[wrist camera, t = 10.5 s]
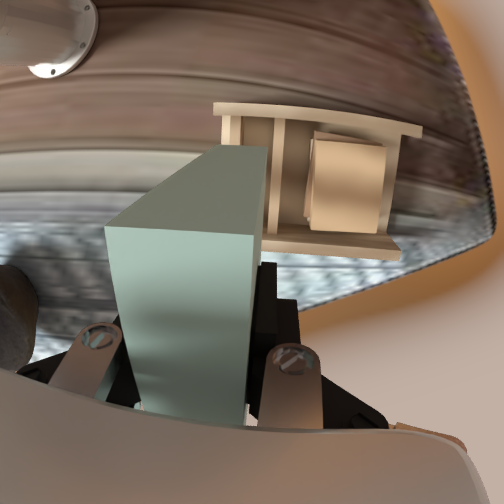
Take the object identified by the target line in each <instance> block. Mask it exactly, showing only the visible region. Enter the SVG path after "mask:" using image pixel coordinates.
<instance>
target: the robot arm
mask: <svg viewBox="0 0 504 504" xmlns="http://www.w3.org/2000/svg"><path fill="white" fill-rule="evenodd" d="M97 29H98V12H97V9H96V6H95V4H94V3H93V2H92V1H91V0H0V65H5V66H28V68H29V69H30V71H31V72H32V73H33V74H34V75H36V76H38V77H41V78H57V77H60V76H63V75H65V74H67V73H68V72H70V71H72V70H73V69H74V68H75V67H76V66H77V65H79V63H80V62H81V61H82V60H83V59H84V58H85V56H86V55H87V53H88V52H89V50H90V48H91V46H92V44H93V42H94V40H95V37H96V34H97ZM320 368H321V367H320V360H319V357H318V355H317V354H316V353H315V352H314V351H313V350H312V349H310V348H309V347H306V346H304V345H301V341H300V330H299V320H298V308H297V300H294V299H279V298H277V263H274V262H261V266H260V265H258V267H257V276H256V285H255V295H254V304H253V313H252V322H251V332H250V346H249V362H248V378H247V394H246V404H250V407H249V414H251V415H252V416H254V417H255V418H256V419H257V420H258V424H257V426H246V425H235V424H225V423H217V422H209V421H202V420H194V419H188V418H181V417H175V416H169V415H164V414H158V413H153V412H148V411H143V410H140V408H141V402H140V401H141V398H140V394H139V391H138V388H137V384H136V381H135V377H134V374H133V370H132V366H131V363H130V359H129V355H128V351H127V347H126V343H125V339H124V334H123V330H122V326H121V321H120V317H119V314H118V316H117V317H116V319H115V320H114V322H113V323H112V324H111V323H105V322H100V323H95V324H92V325H89V326H87V327H86V328H84V329H83V330H82V331H81V332H80V333H79V334H78V336H77V337H76V339H75V341H74V342H73V344H72V345H71V347H70V348H69V350H68V351H66V352H63V353H60V354H57V355H54V356H51V357H48V358H45V359H42V360H39V361H36V362H34V363H31V364H28V365H26V366H23V367H22V368H21V369H19V370H18V371H17V372H16V373H15V371H14V370H10V371H8V370H5V369H2V368H0V504H490V502H489V499H488V496H487V493H486V490H485V487H484V485H483V482H482V480H481V478H480V475H479V473H478V471H477V469H476V468H475V466H474V464H473V462H472V461H471V459H470V457H469V456H468V455H467V449H466V447H465V445H464V443H463V442H462V441H460V440H459V439H458V438H456V437H453V436H450V435H446V434H442V433H437V432H433V431H429V430H424V429H421V428H417V427H413V426H410V425H406V424H402V423H398V422H397V423H396V425H391V424H388V422H387V420H386V419H385V417H384V416H383V415H381V413H379V412H378V411H377V410H375V409H373V408H372V407H370V406H369V405H367V404H365V403H364V402H362V401H361V400H359V399H358V398H356V397H355V396H353V395H351V394H350V393H349V392H347V391H345V390H344V389H342V388H341V387H339V386H338V385H336V384H335V383H333V382H332V381H330V380H329V379H327V378H326V377H324V376H323V375H321V369H320Z"/></svg>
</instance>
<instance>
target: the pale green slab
mask: <svg viewBox="0 0 504 504" xmlns="http://www.w3.org/2000/svg"><path fill="white" fill-rule="evenodd" d="M267 151H268V147H261V146H243V145H216V146H214V147H213V148H211V149H210V150H208V151H207V152H205V153H204V154H202V155H201V156H199V157H198V158H196V159H195V160H193V161H192V162H190V163H189V164H187V165H186V166H184V167H183V168H181V169H180V170H179V171H177V172H176V173H174V174H173V175H171V176H170V177H169V178H167V179H166V180H164V181H163V182H162V183H160V184H159V185H157V186H156V187H155V188H153V189H152V190H151V191H149V192H148V193H146V194H145V195H144V196H142V197H141V198H140V199H138V200H137V201H136V202H134V203H133V204H132V205H131V206H129V207H128V208H127V209H125V210H124V211H123V212H121V213H120V214H119V215H118V216H116V217H115V218H114V219H113V220H111V221H110V222H109V223H108V224H106V225H105V226H104V228H105V236H106V243H107V250H108V257H109V263H110V269H111V275H112V281H113V287H114V292H115V297H116V302H117V307H118V312H119V317H120V321H121V326H122V330H123V334H124V339H125V343H126V347H127V351H128V355H129V359H130V363H131V366H132V370H133V374H134V377H135V381H136V384H137V388H138V391H139V394H140V398H141V401H142V404H143V407H144V410H145V411H148V412H153V413H158V414H164V415H169V416H175V417H181V418H188V419H194V420H202V421H209V422H217V423H225V424H235V425H246V415H247V407H248V404H246V394H247V378H248V362H249V346H250V332H251V322H252V313H253V304H254V295H255V285H256V276H257V267H258V265H260V259H261V244H262V229H263V214H264V199H265V183H266V167H267Z"/></svg>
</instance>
